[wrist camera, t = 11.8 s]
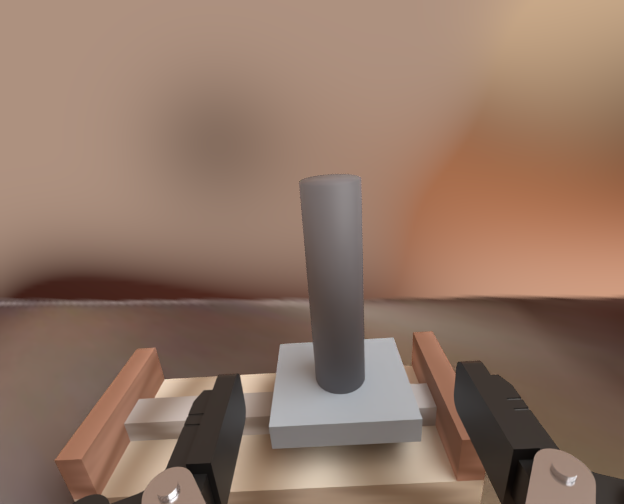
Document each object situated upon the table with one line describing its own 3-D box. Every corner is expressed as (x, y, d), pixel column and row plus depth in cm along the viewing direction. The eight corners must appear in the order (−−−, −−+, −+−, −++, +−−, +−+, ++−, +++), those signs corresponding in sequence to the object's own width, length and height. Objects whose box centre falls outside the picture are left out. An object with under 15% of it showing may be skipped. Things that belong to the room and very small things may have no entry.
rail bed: (428, 384, 27) (432, 331, 25) (479, 505, 19) (490, 438, 17) (153, 399, 28) (137, 348, 26) (85, 522, 20) (54, 460, 18)
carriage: (392, 372, 26) (396, 163, 20) (419, 461, 19) (437, 188, 14) (284, 378, 26) (258, 173, 20) (275, 468, 19) (232, 203, 14)
